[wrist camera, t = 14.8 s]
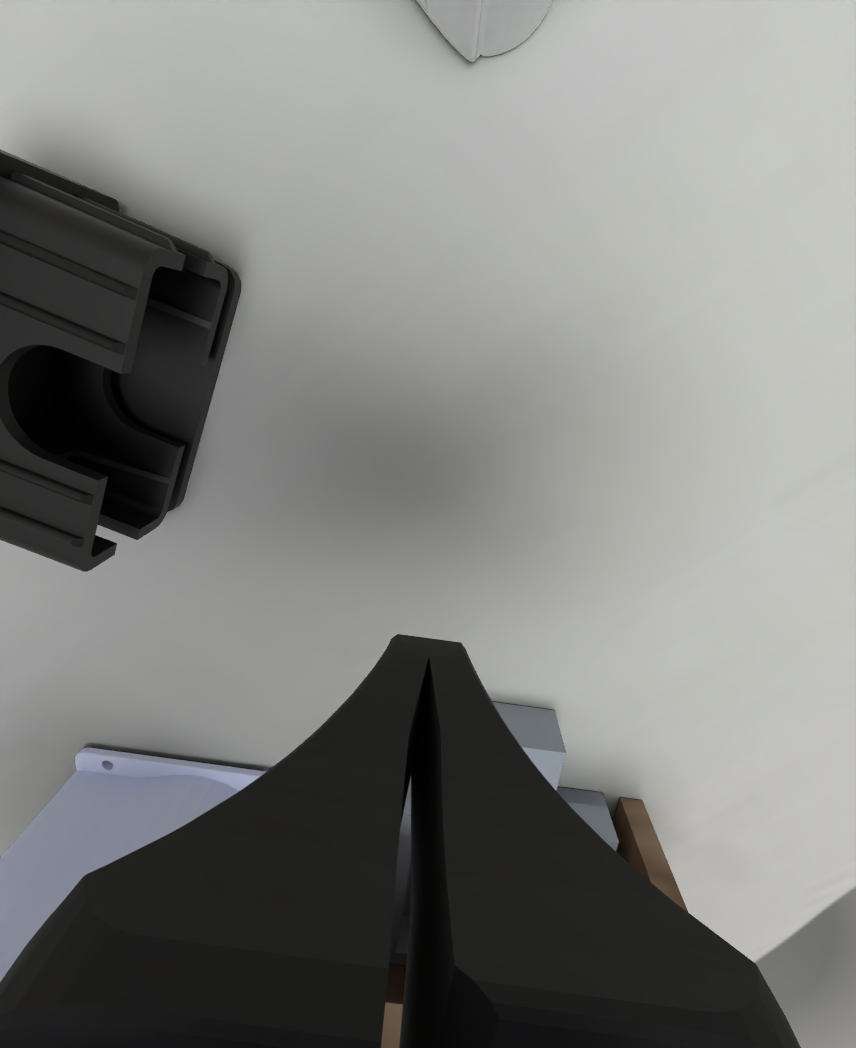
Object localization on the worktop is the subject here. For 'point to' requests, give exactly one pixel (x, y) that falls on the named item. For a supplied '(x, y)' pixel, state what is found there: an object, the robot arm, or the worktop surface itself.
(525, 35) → the photo printer
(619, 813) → the wooden side table
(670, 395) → the worktop surface
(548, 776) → the tray
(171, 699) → the worktop surface
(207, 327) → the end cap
